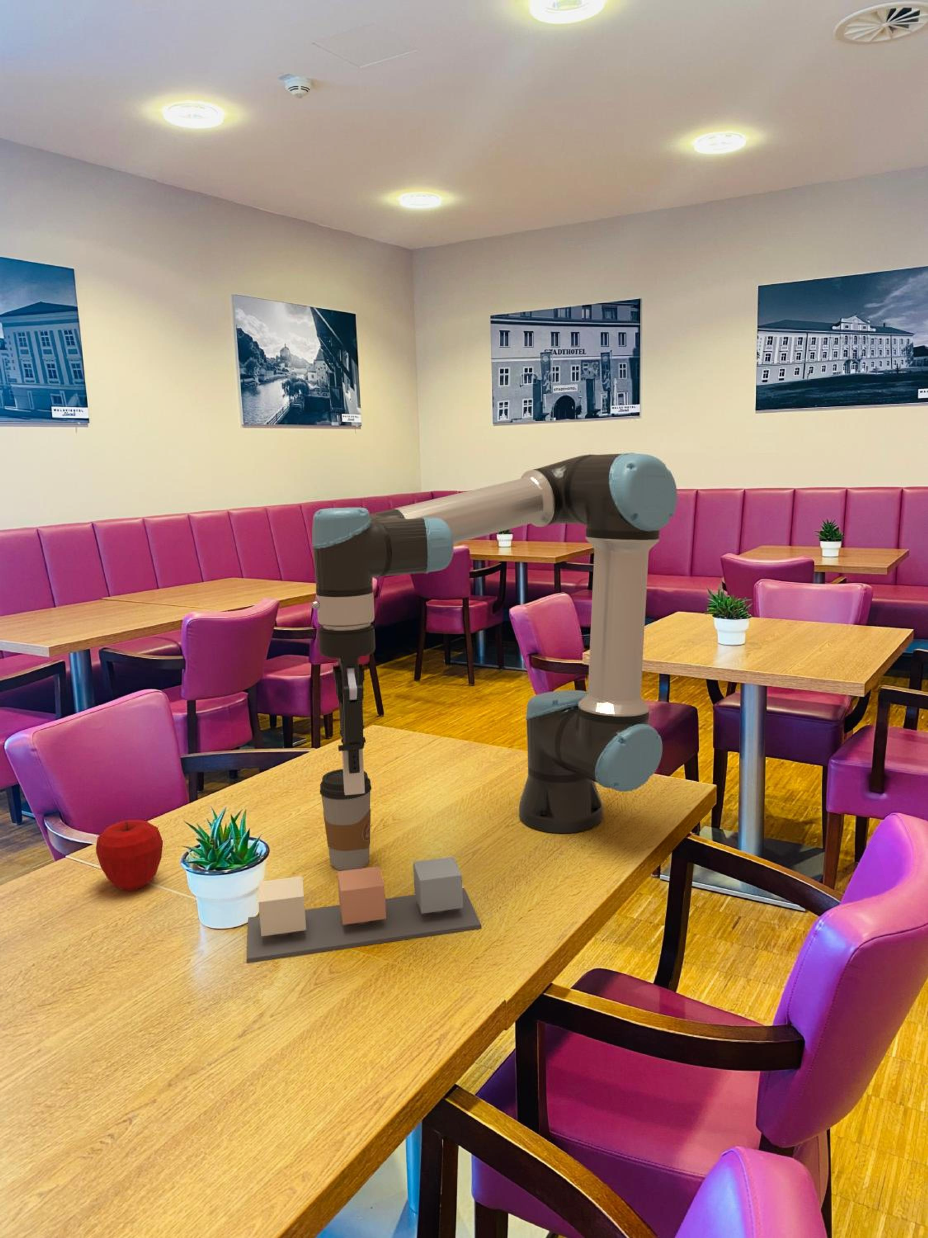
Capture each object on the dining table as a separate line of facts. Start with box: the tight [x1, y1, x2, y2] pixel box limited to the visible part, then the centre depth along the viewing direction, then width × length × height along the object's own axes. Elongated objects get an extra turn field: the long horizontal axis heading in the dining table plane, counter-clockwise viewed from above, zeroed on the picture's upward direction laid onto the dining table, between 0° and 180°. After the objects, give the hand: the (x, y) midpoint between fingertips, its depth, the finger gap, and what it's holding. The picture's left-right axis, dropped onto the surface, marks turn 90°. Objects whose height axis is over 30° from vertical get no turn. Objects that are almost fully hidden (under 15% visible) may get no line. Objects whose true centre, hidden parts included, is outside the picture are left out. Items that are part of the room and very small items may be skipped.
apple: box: [95, 819, 164, 892], centre depth 138 cm, size 10×10×11 cm
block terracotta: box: [336, 866, 386, 925], centre depth 124 cm, size 6×6×5 cm
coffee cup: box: [319, 768, 372, 871], centre depth 143 cm, size 8×8×15 cm
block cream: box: [258, 875, 306, 936], centre depth 122 cm, size 6×6×5 cm
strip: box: [246, 887, 482, 964], centre depth 125 cm, size 32×11×2 cm, turn 103°
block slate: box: [412, 856, 463, 914], centre depth 127 cm, size 6×6×5 cm
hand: (354, 792), depth 122 cm, fingers closed
